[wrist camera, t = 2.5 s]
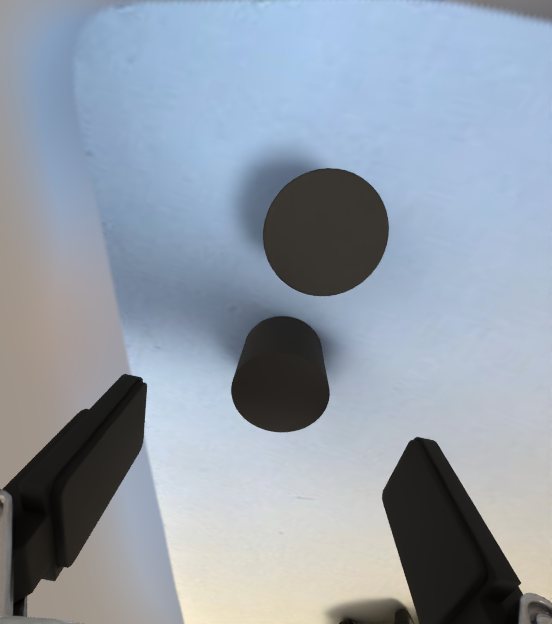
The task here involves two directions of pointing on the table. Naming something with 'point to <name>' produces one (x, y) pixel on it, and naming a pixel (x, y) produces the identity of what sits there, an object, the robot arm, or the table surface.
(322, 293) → the black cylinder
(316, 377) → the dot
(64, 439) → the robot arm
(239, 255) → the table surface
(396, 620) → the toy car
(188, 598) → the table surface
